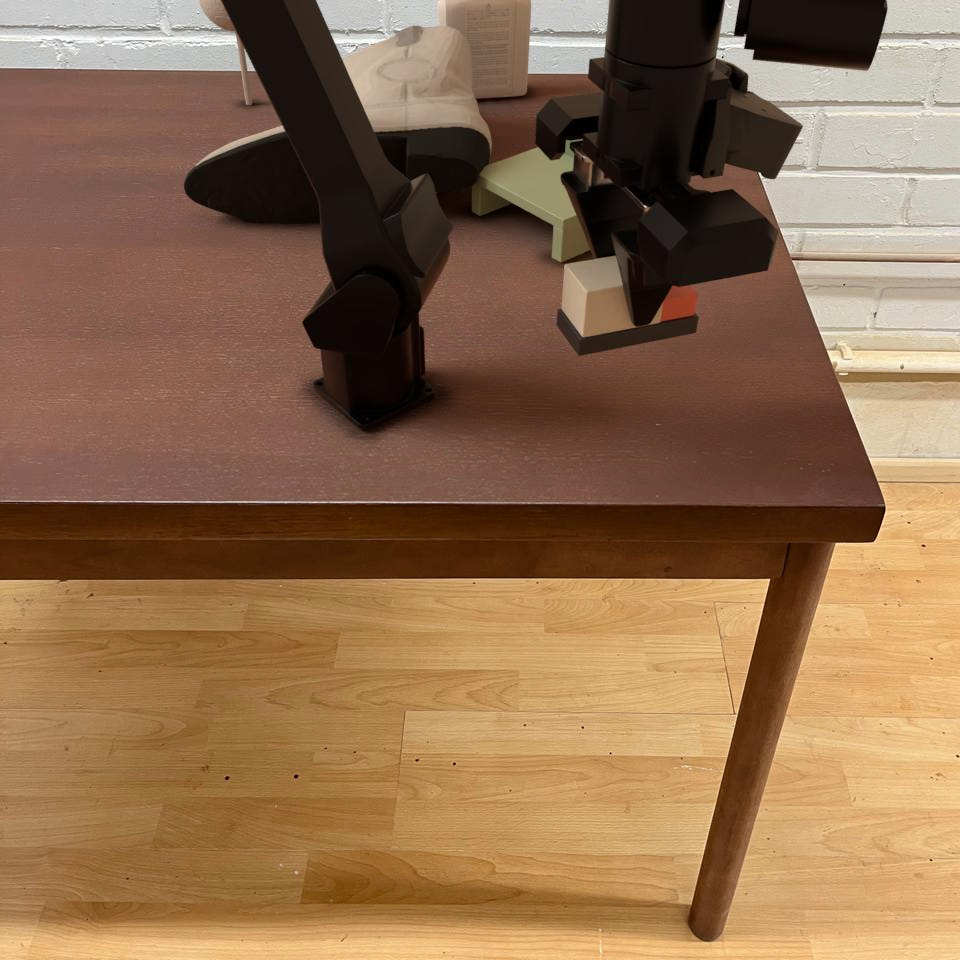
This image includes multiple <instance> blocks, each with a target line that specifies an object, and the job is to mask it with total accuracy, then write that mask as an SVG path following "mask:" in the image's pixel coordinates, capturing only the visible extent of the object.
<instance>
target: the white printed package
mask: <svg viewBox="0 0 960 960" xmlns="http://www.w3.org/2000/svg"><path fill="white" fill-rule="evenodd" d="M436 11H437V26H448V27H452V28H455V29H457V30H459V31H460V32H461V33H462V34H463V35H464V36H465V37H466V39H467V40H468V42H469V45H470V50H471V57H472V78H473V94H474V97H475V99H476V100H477V99H492V98H493V99H494V98H508V97H509V98H511V97H521V96H523V97H524V96H525V95H526V94H527V92H528V78H529V77H528V75H529V59H530V58H529V57H530V41H531V40H530V38H531V21H532V20H531V19H532V0H438V1H437V10H436Z"/></svg>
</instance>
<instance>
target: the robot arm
mask: <svg viewBox="0 0 960 960" xmlns="http://www.w3.org/2000/svg"><path fill="white" fill-rule="evenodd" d="M221 2H222V4H223V6H224V8H225V10H226V12H227V14H228V16H229V18H230V20H231V22H232V24H233V26H234V28H235V30H236V32H237V34H238V36H239V38H240V41H241V43H242V45H243V47H244V50H245V54H246V55H247V57H248V59H249V60H250V63H251V65H252V67H253V69H254V71H255V73H256V75H257V77H258V79H259V81H260V83H261V85H262V88H263V89H264V91H265V93H266V95H267V97H268V100H269V101H270V103H271V105H272V108H273V110H274V112H275V114H276V115H277V117H278V120H279V121H280V123H281V126H283V128H284V130H285V132H286V134H287V136H288V138H289V140H290V142H291V144H292V146H293V148H294V150H295V152H296V154H297V156H298V158H299V160H300V162H301V164H302V166H303V168H304V170H305V172H306V174H307V176H308V178H309V180H310V182H311V185H312V187H313V189H314V191H315V193H316V195H317V199H318V202H319V212H320V223H319V225H320V237H321V239H320V240H321V251H322V257H323V260H324V263H325V266H326V269H327V272H328V275H329V278H330V282H329V283H328V284H327V286H326V287H325V288H324V290H323V291H322V293H321V294H320V296H319V297H318V298H317V299H316V301H315V303H314V304H313V305H312V307H311V308H310V310H309V311H308V312H307V314H306V315H305V317H304V318H303V319H302V322H301V323H302V326H303V329H304V330H305V332H306V334H307V336H308V338H309V340H310V342H311V344H312V346H313V347H314V349H317V350H320V351H319V352H320V359H321V367H322V368H321V369H322V376H323V377H321V378H320V377H319V378H318V379H316V380H314V381H313V382H312V385H313V386H312V388H313V391H314V392H316V393H317V394H318V395H319V396H320V397H321V398H323V399H324V400H325V401H326V402H328V404H330V405H331V406H332V407H333V408H334V409H335V410H337V411H338V412H339V413H340V414H341V415H342V416H344V417H345V418H346V419H347V420H348V421H349V422H351V423H352V424H353V425H354V426H355V427H357V428H358V429H359V430H362V431H367V430H370V429H373V428H374V427H376V426H378V425H380V424H382V423H385V422H386V421H389V420H390V419H392V418H394V417H397V416H398V415H400V414H403V413H404V412H407V411H409V410H410V409H413V408H415V407H417V406H419V405H421V404H423V403H425V402H427V401H429V400H431V399H433V398H434V397H436V388H435V387H434V386H433V385H431V384H430V383H429V382H427V381H426V380H425V379H423V377H425V375H426V371H427V370H426V347H425V346H426V345H425V344H426V343H425V342H426V341H425V328H424V326H422V325H421V324H420V312H421V310H422V309H423V307H424V305H425V304H426V301H427V299H428V298H429V296H430V295H431V292H432V291H433V289H434V288H435V285H436V284H437V282H438V280H439V278H440V277H441V275H442V273H443V271H444V270H445V268H446V265H447V263H448V261H449V257H450V255H451V243H450V239H449V236H450V234H451V233H452V231H453V229H454V227H455V225H454V224H453V223H452V221H451V220H450V219H449V218H448V217H447V216H446V215H445V213H444V211H443V209H442V208H441V206H440V203H439V200H438V196H437V193H436V192H435V188H434V184H433V181H432V179H431V178H430V176H429V175H428V174H424V175H422V176H420V177H418V178H416V179H414V180H412V181H410V180H409V179H407V178H406V177H405V176H404V175H403V174H402V173H400V172H399V171H398V170H397V169H396V168H395V167H393V166H392V165H391V164H390V163H389V161H388V160H387V158H386V157H385V155H384V153H383V151H382V148H381V146H380V144H379V142H378V139H377V137H376V135H375V133H374V130H373V128H372V126H371V124H370V121H369V119H368V117H367V114H366V112H365V110H364V108H363V105H362V103H361V101H360V99H359V96H358V94H357V92H356V90H355V87H354V85H353V83H352V80H351V78H350V76H349V74H348V71H347V69H346V67H345V65H344V62H343V60H342V59H343V58H342V55H341V53H340V51H339V48H338V46H337V44H336V42H335V40H334V38H333V35H332V33H331V31H330V29H329V26H328V24H327V22H326V20H325V17H324V15H323V13H322V11H321V8H320V5H319V3H318V0H221ZM725 6H726V0H608V10H607V21H606V22H607V23H606V32H605V33H606V35H605V45H604V55H603V56H602V57H593V58H588V59H589V60H588V70H587V79H588V80H589V81H591V82H592V83H593V84H594V85H595V86H597V88H599V89H600V91H596V92H590V93H582V94H581V93H580V94H572V95H566V96H559V97H551V98H549V100H548V101H547V102H546V103H545V104H544V106H543V107H542V108H541V109H540V110H539V111H538V112H537V113H536V117H535V135H534V136H535V137H534V144H535V146H536V147H539V149H540V150H541V151H542V152H543V153H544V154H545V155H546V156H547V157H548V158H549V159H550V160H558V159H560V158H561V157H562V155H563V154H564V153H565V148H566V140H569V141H572V140H579V139H583V140H581V141H574V142H570V147H569V148H570V150H571V151H572V152H573V153H574V163H573V171H567V172H564V173H562V174H561V177H560V178H561V183H562V184H563V185H564V187H565V189H566V191H567V193H568V196H569V198H570V201H571V203H572V205H573V208H574V210H575V213H576V215H577V218H578V220H579V223H580V225H581V227H582V230H583V232H584V235H585V238H586V240H587V242H588V245H589V248H590V250H589V251H590V253H591V256H592V258H593V259H598V258H604V257H610V256H616V258H617V262H618V266H619V271H620V275H621V280H622V284H623V289H624V293H625V298H626V302H627V306H628V310H629V313H630V317H631V321H632V323H633V325H634V326H636V327H639V326H644V325H648V324H650V323H651V322H652V320H653V319H654V317H655V315H656V314H657V312H658V310H659V308H660V307H661V305H662V303H663V301H664V300H665V298H666V296H667V295H668V293H669V291H670V289H671V288H672V286H677V287H682V286H688V285H691V286H693V285H698V284H703V283H709V282H715V281H719V280H724V279H725V280H726V279H730V278H735V277H742V276H746V275H752V274H757V273H763V272H768V271H769V269H770V267H771V265H772V262H773V259H774V255H775V254H774V253H775V249H776V245H777V241H778V236H779V232H780V231H779V230H778V229H777V228H776V227H775V225H774V224H773V223H772V222H771V221H770V220H769V219H768V218H767V217H766V216H765V215H764V214H763V213H762V212H761V211H759V210H758V209H757V208H756V207H755V206H753V205H752V204H751V203H750V202H749V201H748V200H747V199H745V198H744V197H743V196H741V194H739V193H738V192H737V191H735V190H734V188H730V189H723V190H717V191H709V190H706V189H696V188H694V187H693V186H692V185H691V184H690V183H691V181H692V178H693V177H696V176H699V177H700V178H701V179H703V180H704V179H711V178H718V177H723V176H724V171H725V164H726V165H729V166H731V167H732V166H733V167H736V168H740V169H744V170H747V171H752V172H756V173H759V174H760V176H761V177H763V178H764V179H768V180H777V177H778V176H779V174H780V171H781V170H782V168H783V166H784V164H785V162H786V160H787V158H788V157H789V154H790V153H791V151H792V149H793V147H794V145H795V143H796V141H797V140H798V137H799V135H800V134H801V132H802V130H803V127H804V125H803V124H802V123H801V122H799V121H798V120H796V119H795V118H794V117H792V116H791V115H789V114H788V113H786V111H784V110H782V109H781V108H780V107H778V106H776V105H775V104H773V103H772V102H770V101H768V100H767V99H765V98H763V97H760V96H759V95H758V94H756V93H755V92H754V91H750V90H749V89H748V88H749V74H748V73H747V71H744V69H742V68H740V67H738V66H737V65H735V63H731V62H729V61H727V60H723V59H720V58H717V54H718V49H719V42H720V37H721V36H720V35H721V29H722V24H723V17H724V11H725ZM888 9H889V8H888V0H738V6H737V13H736V18H735V24H734V32H733V37H742V38H744V37H745V39H744V46H743V50H749V51H753V53H752V59H751V60H752V61H759V62H771V63H779V64H780V63H781V64H791V65H793V64H794V65H801V66H811V67H812V66H813V67H822V68H831V69H832V68H833V69H843V70H852V71H853V70H854V71H863V72H868V71H869V69H870V68H871V66H872V64H873V61H874V59H875V55H876V53H877V49H878V47H879V44H880V41H881V36H882V33H883V30H884V25H885V22H886V18H887V14H888Z"/></svg>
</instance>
